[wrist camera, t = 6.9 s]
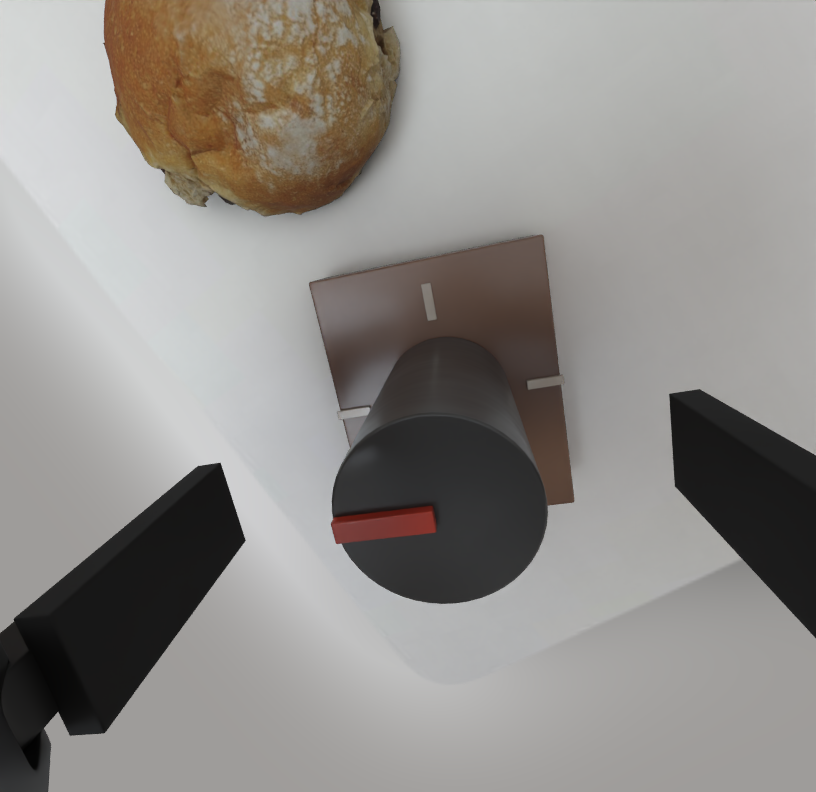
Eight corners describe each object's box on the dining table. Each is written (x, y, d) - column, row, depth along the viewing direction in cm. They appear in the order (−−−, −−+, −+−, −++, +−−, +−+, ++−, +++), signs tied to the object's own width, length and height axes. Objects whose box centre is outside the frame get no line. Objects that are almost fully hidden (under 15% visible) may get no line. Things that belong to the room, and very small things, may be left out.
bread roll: (409, 180, 23) (483, 103, 16) (204, 272, 21) (176, 233, 13) (309, -46, 21) (340, -265, 13) (68, 30, 19) (-58, -180, 11)
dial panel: (565, 475, 23) (578, 504, 21) (376, 500, 25) (366, 530, 22) (536, 234, 20) (547, 233, 18) (322, 278, 22) (304, 283, 19)
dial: (500, 326, 19) (536, 400, 10) (517, 445, 20) (561, 603, 11) (374, 348, 20) (304, 436, 11) (398, 461, 21) (354, 622, 12)
